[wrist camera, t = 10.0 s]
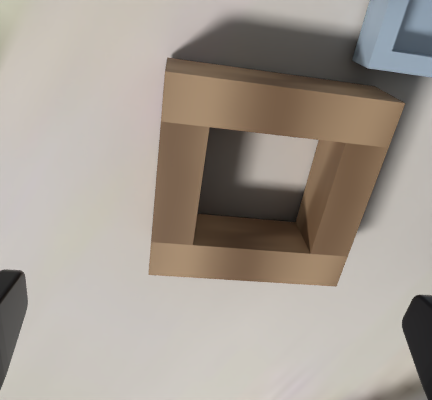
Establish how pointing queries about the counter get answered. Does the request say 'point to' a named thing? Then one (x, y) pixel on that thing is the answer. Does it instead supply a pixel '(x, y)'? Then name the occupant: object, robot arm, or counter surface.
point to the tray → (397, 37)
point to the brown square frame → (277, 125)
